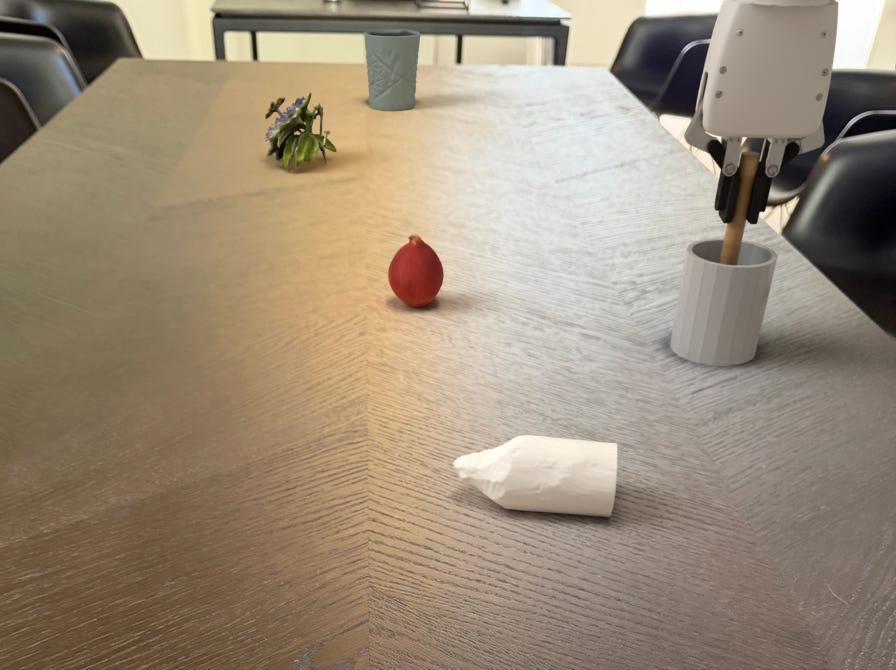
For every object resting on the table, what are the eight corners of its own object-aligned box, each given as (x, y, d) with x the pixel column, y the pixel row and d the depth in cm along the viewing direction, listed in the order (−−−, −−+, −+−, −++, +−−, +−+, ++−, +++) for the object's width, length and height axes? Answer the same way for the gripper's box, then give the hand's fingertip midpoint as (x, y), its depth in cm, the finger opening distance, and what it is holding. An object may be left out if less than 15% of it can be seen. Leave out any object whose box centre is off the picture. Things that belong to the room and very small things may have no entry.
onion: (407, 296, 112) (407, 221, 107) (452, 306, 109) (454, 230, 104) (379, 312, 108) (377, 236, 103) (425, 323, 105) (426, 245, 100)
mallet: (731, 313, 99) (767, 148, 89) (738, 327, 96) (776, 159, 87) (694, 312, 99) (726, 147, 90) (700, 326, 96) (734, 157, 87)
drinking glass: (358, 109, 186) (356, 34, 179) (376, 98, 194) (375, 26, 186) (409, 113, 184) (409, 37, 176) (426, 102, 191) (427, 29, 184)
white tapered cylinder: (456, 481, 80) (458, 416, 76) (607, 491, 79) (617, 426, 75) (448, 521, 75) (450, 454, 72) (609, 532, 74) (620, 465, 71)
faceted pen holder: (744, 339, 103) (766, 239, 96) (761, 373, 96) (786, 268, 90) (664, 337, 103) (680, 237, 97) (675, 370, 97) (694, 265, 90)
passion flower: (282, 196, 160) (275, 120, 160) (348, 185, 158) (341, 108, 158) (258, 169, 149) (250, 86, 149) (328, 156, 147) (321, 73, 147)
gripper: (871, -24, 83) (813, 210, 94) (680, -28, 83) (645, 205, 95) (901, -13, 77) (835, 235, 88) (694, -17, 77) (656, 229, 89)
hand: (737, 218), depth 91 cm, fingers closed on mallet
